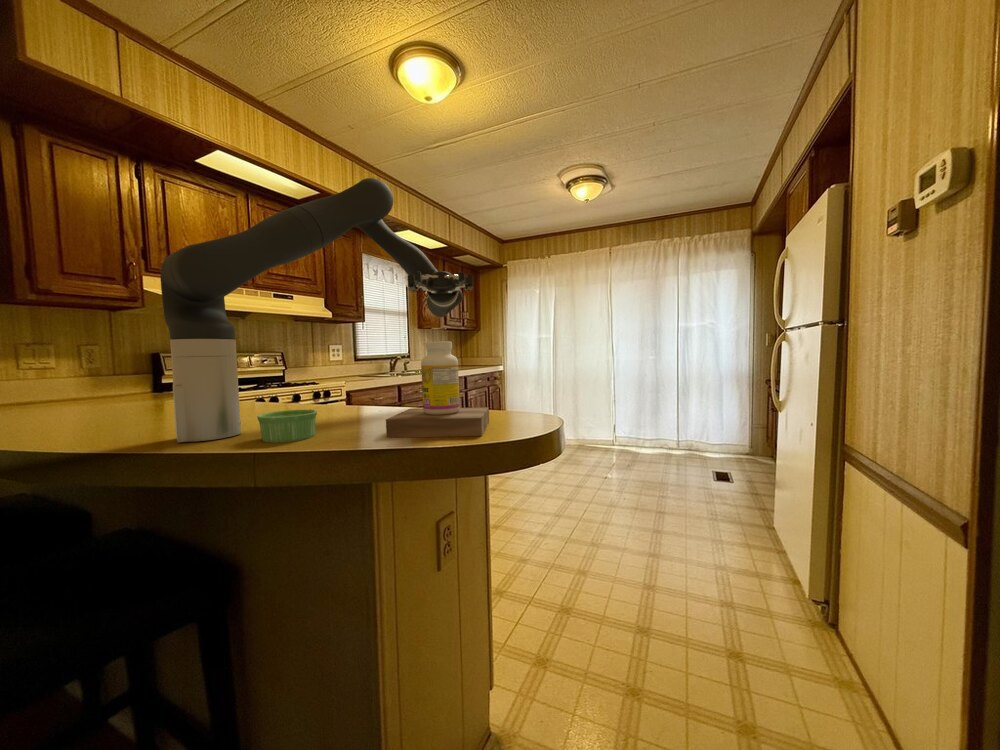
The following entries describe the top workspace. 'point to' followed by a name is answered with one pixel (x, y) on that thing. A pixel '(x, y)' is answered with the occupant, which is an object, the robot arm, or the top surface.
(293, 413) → the ramekin
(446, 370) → the supplement bottle
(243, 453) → the top surface
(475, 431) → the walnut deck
